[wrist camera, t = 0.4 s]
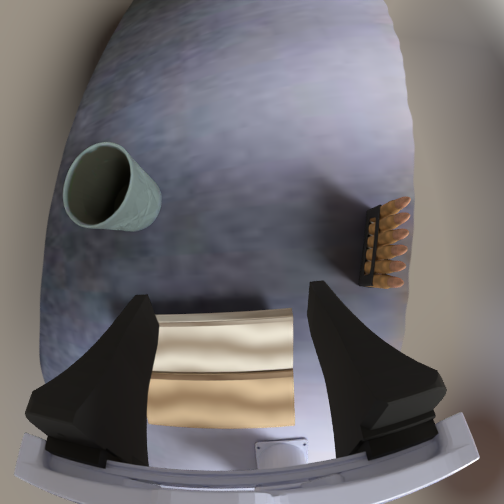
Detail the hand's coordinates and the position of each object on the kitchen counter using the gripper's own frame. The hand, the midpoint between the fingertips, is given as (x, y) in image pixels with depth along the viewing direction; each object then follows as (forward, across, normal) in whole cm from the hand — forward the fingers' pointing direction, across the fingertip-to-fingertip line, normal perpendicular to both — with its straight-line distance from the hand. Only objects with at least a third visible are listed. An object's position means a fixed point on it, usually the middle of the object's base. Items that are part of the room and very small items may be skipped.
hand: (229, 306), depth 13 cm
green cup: (+29, +15, +7) cm, 34 cm away
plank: (+15, +5, +21) cm, 26 cm away
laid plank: (+11, +5, +29) cm, 32 cm away
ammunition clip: (+22, -18, +13) cm, 31 cm away
